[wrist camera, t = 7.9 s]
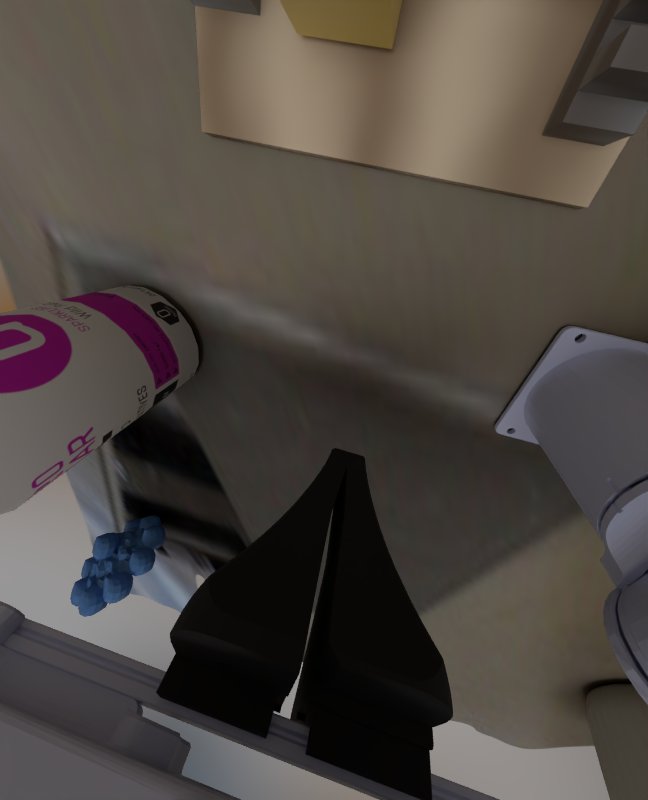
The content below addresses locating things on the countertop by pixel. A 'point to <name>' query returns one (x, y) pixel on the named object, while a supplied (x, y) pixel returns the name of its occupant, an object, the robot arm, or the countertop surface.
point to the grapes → (117, 564)
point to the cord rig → (438, 90)
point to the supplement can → (82, 379)
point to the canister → (620, 739)
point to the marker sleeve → (346, 20)
